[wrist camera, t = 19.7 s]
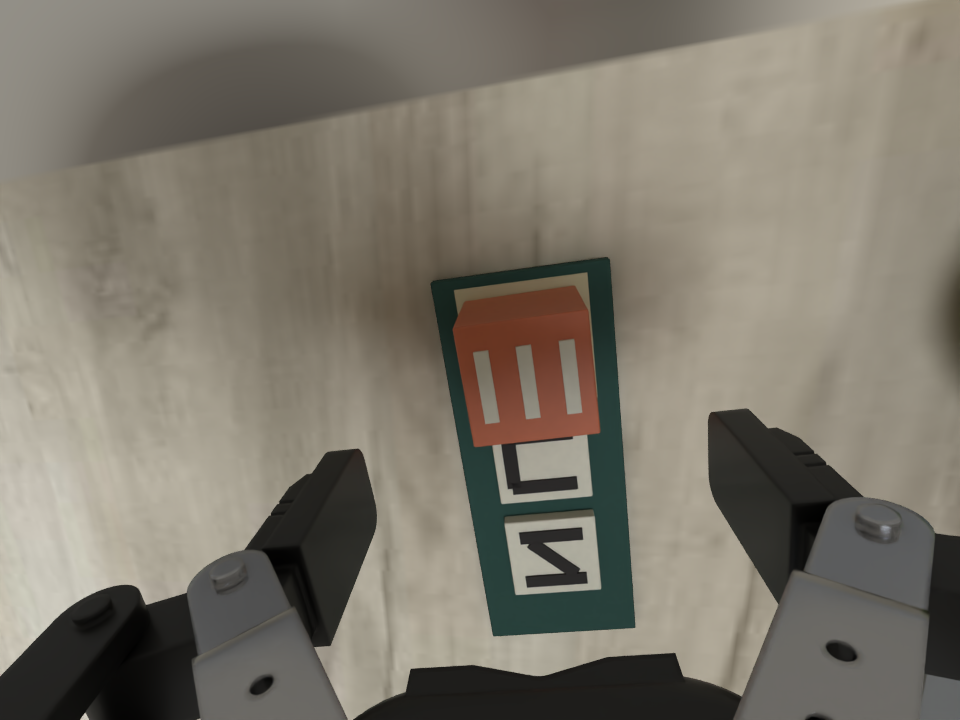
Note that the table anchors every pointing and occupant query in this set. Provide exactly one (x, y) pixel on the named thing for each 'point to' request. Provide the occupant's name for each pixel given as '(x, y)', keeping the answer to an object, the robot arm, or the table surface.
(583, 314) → the red striped block
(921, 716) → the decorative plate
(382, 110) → the table surface
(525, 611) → the word mat
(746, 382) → the table surface
